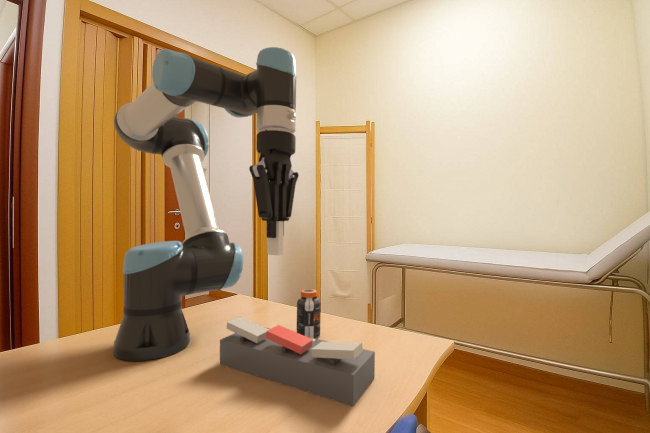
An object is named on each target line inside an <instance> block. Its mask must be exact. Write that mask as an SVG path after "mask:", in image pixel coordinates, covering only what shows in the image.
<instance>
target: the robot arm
mask: <svg viewBox="0 0 650 433" xmlns="http://www.w3.org/2000/svg"><path fill="white" fill-rule="evenodd" d="M255 64H256V65H255V66H256V69H254V70H253V71H251V72H249V73H248V74H242V73H239V72H235V71H233V70H231V69H228V68H225V67H223V66H219V65H217V64H213V63H210V62H208V61H205V60H203V59H199V58H197V57H194V56H191V55H189V54H187V53H185V52H181V51H177V50H176V51H175V50H172V49H169V48H163V49H160V50H159V51H158V52H157V53H156V55H155V59H154V60H153V65H152V72H151V74H152V75H151V76H152V77H151V78H152V82H151V83H150V84H149V86H147V87H146V88H145V89H144V90H143V91H142V93H140V94H139V96H138V97H136V98H135V99H134V100H133V102H128V103H124V104H123V105H122V106H120V107H119V108H118V109H117V111H116V113H115V115H114V118H113V126H114V129H115V132H116V134H117V135H118V137H119V138H120V139H121V140H122V141H123V142H124V143H125V144H126V145H128V146H129V147H131V148H132V149H134V150H136V151H139V152H142V153H146V154H154V155H160V156H161V159H162V162H163V164H164V165H165V166H166V167H168V168H170V173H171V178H172V180H173V185H174V191H175V195H176V198H177V204H178V207H179V211H180V216H181V220H182V225H183V228H184V233H185V239H184V240H183V241H182V242H181V241H180V240H168V241H167V240H166V241H155V242H150V243H145V244H144V243H143V244H140V245H136V246H134V247H131V248H130V249H128V250H127V251H125V254H124V258H123V266H122V271H121V272H122V274H123V277H122V278H123V282H122V283H123V285H122V286H123V291H122V294H123V296H122V298H123V305H122V306H123V311H122V312H123V313H122V314H123V316H122V319H121V322H120V325H119V328H118V330H117V333H116V336H115V339H114V342H113V356H114V357H115V358H117V359H119V360H122V361H129V362H140V361H141V362H142V361H151V360H157V359H161V358H164V357H165V358H166V357H169V356H171V355H173V354H177V353H179V352H180V351H182V350H184V349H185V348H187V346H189V344H190V342H191V341H190V339H191V336H190V335H191V334H190V329H189V326H188V323H187V320H186V318H185V315H184V311H183V307H182V306H183V305H182V302H183V300H182V299H183V296H189V295H195V294H199V293H200V294H201V293H206V292H211V291H213V292H214V291H221V290H223V289H228V288H231V287H234V285H236V284H237V283H238V281H239V280H240V278H241V276H242V272H243V269H244V268H243V267H244V255H243V250H242V248H241V247H240V245H239V244H238V243H235V242H230V239H229V235H228V234H227V232H226V231H225V230H222V229H220V226H219V222H218V218H217V214H216V211H215V207H214V204H213V200H212V196H211V193H210V190H209V189H210V188H209V186H208V182H207V179H206V174H205V171H204V170H205V169H204V167H203V161H204V160H205V157H206V156H207V155H208V151H209V147H210V145H209V139H210V138H209V135H208V132H207V129H206V128H205V126H204V125H203V124H202V123H201V122H199V121H196V120H193V119H191V118H185V117H183V118H182V117H177V115H178V114H180V113H181V112H182V111H183V112H184V110H186V109H187V108H188V107H190V106H191V105H193V104H194V103H196V102H197V103H201V104H206V105H210V106H214V107H218V108H221V109H224V110H225V111H226V112H227V113H228V114H230V116H232V117H234V118H240V119H241V118H246V117H251V116H253V115H255V114H256V119H255V120H256V128H255V129H256V131H257V134H256V144H255V145H256V152H257V154H260V155H259V157H258V162H257V163H256V164H253V165H250V166H249V169H248V170H249V173H250V175H251V177H252V179H253V180H252V181H253V186H254V194H255V201H256V206H257V207H256V208H257V214H258V217H259V218H261V219H260V220H261V221H263V222H266V238H267V246H266V247H267V249H266V250H267V255H268V256H269V255H271V256H284V235H285V222H289V221H290V218H291V217H292V213H293V206H294V198H295V192H296V191H295V190H296V186H297V181H298V179H299V172H297V171H294V170H293V169H292V165H293V164H292V161H291V157H292V156H293V155H295V153H296V145H297V144H296V141H297V138H296V135H295V134H294V133H296V116H297V115H296V106H297V105H296V104H297V78H298V75H297V62H296V58H295V56H294V54H293V53H292V52H291V51H289V50H286V49H285V48H282V47H275V46H274V47H273V46H272V47H265V48H263V49H261V50H260V51H259V52H258V54H257V58H256V62H255Z"/></svg>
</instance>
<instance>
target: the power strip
mask: <svg viewBox="0 0 650 433" xmlns="http://www.w3.org/2000/svg"><path fill="white" fill-rule="evenodd" d="M263 327H264V328H267V329H269V330H270V329H271V328H269V327H265V326H263ZM308 338H310V339H313V342H312V347H310V348H309V349H308V350H306V351H305V352H303V353H302V354H299V353H297V352H295V351H293V350H290V349H288V348H286V347H284V346H282V345H280V344H277V343H275V342H273V341H271V340H269V339H267V338H265V339H264V340H262V341H260V342H258V343H255V342H253V341H251V340H249V339H247V338H245V337H243V336H241V335H239V334H237V333H234V332H233V333H232V334H229V335H226V336H225V337H223V338H220V339H219V365H220V366H223V367H225V368H226V367H227V368H229V369H232V370H236V371H240V372H241V373H242V372H243V373H245V374H249V375H251V376H255V377H258V378H262V379H265V380H269V381H270V382H274V383H277V384H280V385H284V386H286V387H291V388H292V389H296V390H300V391H303V392H305V393H309V394H312V395H315V396H319V397H322V398H324V399H328V400H330V401H331V400H332V401H334V402H338V403H342V404H344V405H347V406H350V407H354V406H355V405H356V404H357V402H358V401H359V400H360V398H361V397H362V396H363V394H364V393H365V392H366V390H367V389H368V388H369V386H370V385H371V384H372V382H373V381H374V380H375V365H376V364H375V362H376V360H375V358H376V356H375V355H376V351H373V350H370V349H369V350H368V349H365V348H363V351H362V352H361V353H360V354H359V355H358V356H357V357H356V358H355V359H338V358H318V357H312V351H311V349H312V348H313V347H315V346H316V345H318V344H319V343H320V342H330V341H328V340H323V339H319V338H311V337H308Z"/></svg>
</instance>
